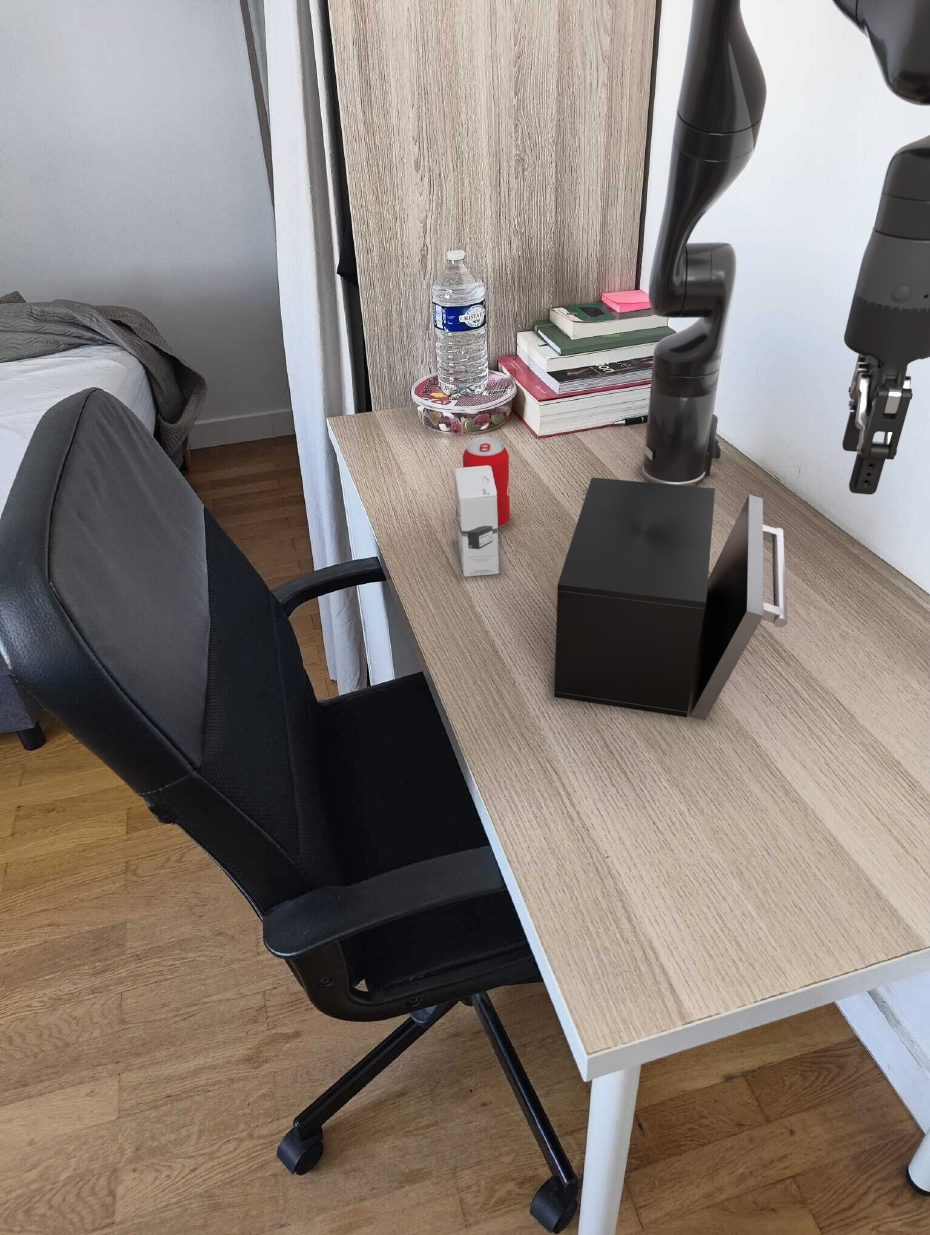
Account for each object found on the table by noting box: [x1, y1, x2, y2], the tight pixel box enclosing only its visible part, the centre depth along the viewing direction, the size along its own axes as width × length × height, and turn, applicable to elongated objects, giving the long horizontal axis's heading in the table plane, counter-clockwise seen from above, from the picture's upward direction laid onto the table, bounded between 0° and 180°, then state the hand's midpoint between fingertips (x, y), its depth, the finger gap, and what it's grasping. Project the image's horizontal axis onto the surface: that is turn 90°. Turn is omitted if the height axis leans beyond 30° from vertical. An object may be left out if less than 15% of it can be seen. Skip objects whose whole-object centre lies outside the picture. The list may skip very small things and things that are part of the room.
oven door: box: [689, 494, 788, 721], centre depth 90 cm, size 5×22×15 cm, turn 165°
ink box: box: [453, 465, 500, 578], centre depth 109 cm, size 8×5×12 cm, turn 5°
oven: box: [553, 476, 716, 718], centre depth 93 cm, size 14×22×15 cm, turn 165°
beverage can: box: [462, 436, 511, 529], centre depth 116 cm, size 6×6×12 cm
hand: (857, 470), depth 78 cm, fingers open, 8 cm apart
